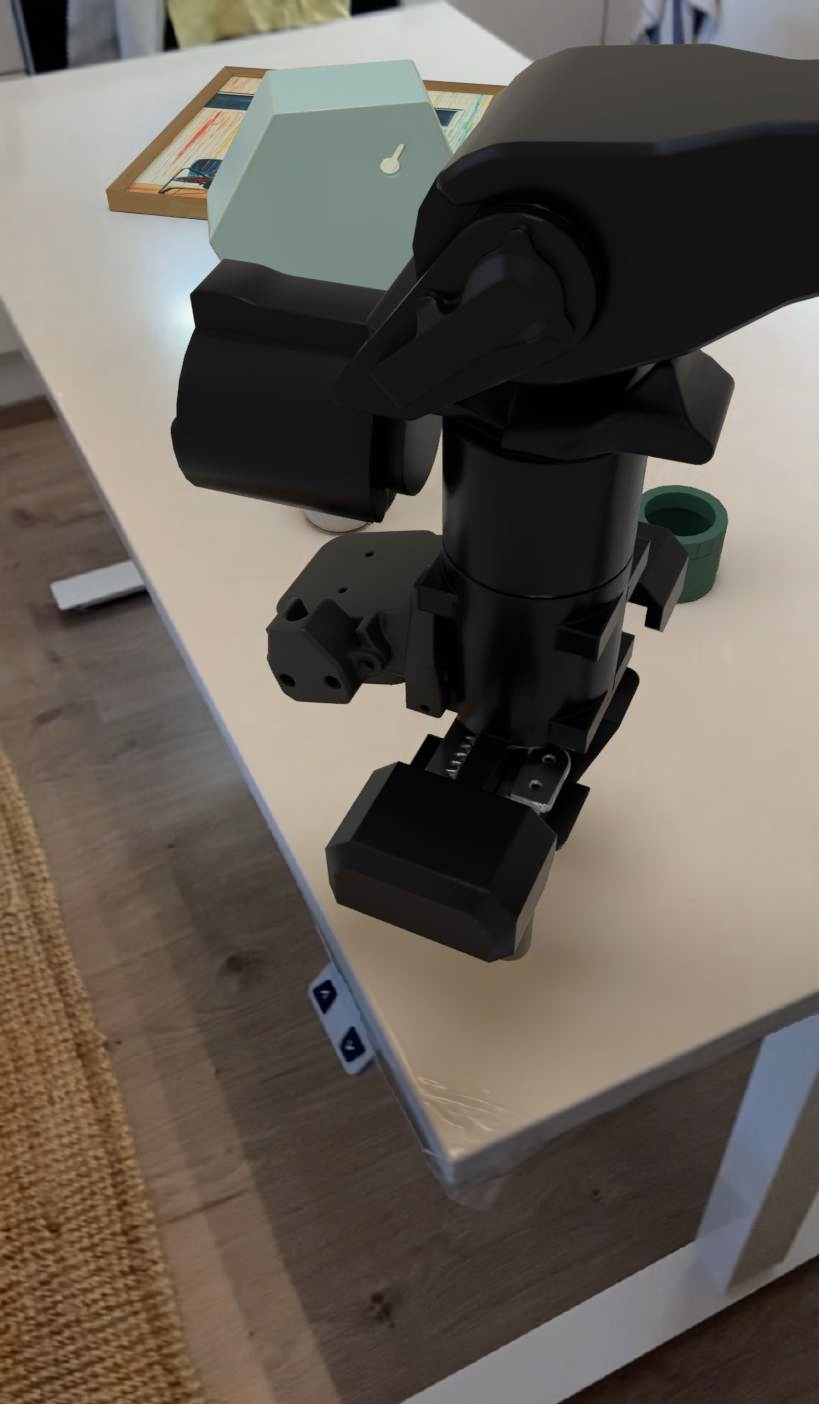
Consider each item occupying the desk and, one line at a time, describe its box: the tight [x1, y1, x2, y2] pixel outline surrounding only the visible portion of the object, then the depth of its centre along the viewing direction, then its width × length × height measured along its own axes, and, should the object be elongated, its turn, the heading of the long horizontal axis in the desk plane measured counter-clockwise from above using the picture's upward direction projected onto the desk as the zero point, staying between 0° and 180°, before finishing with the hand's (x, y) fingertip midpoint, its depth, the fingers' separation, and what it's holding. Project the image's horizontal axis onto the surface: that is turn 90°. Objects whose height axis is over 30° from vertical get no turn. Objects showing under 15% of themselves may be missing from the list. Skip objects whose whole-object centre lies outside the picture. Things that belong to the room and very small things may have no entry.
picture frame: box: [105, 65, 508, 221], centre depth 113 cm, size 30×2×30 cm
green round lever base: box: [638, 484, 729, 604], centre depth 70 cm, size 5×6×4 cm
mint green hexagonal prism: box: [206, 59, 454, 290], centre depth 86 cm, size 17×8×21 cm
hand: (515, 846), depth 47 cm, fingers closed
